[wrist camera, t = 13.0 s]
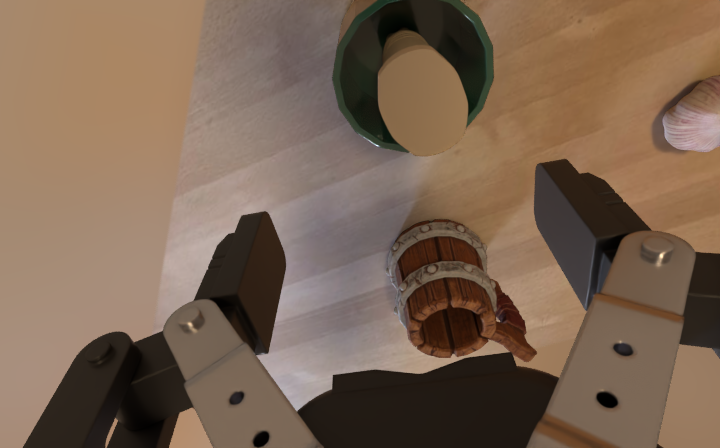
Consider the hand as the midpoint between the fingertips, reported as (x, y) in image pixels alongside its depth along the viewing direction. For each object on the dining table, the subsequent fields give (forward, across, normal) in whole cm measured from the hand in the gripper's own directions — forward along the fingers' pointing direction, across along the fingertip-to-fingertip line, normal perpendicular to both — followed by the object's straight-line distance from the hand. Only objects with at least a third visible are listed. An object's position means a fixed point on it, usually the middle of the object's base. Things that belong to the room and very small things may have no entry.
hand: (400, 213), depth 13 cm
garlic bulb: (+29, -29, +14) cm, 43 cm away
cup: (+29, -2, +2) cm, 29 cm away
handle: (+29, -2, +2) cm, 29 cm away
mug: (+29, -4, +27) cm, 40 cm away
